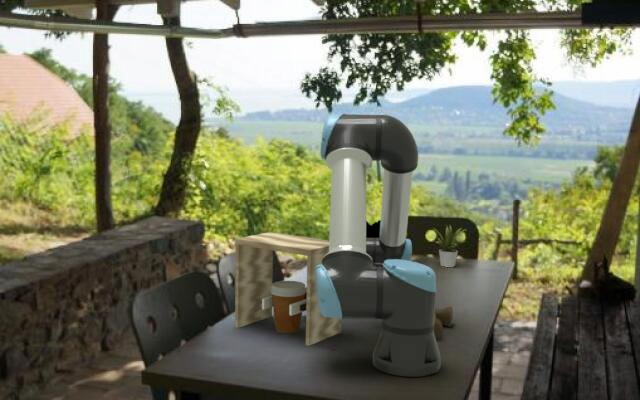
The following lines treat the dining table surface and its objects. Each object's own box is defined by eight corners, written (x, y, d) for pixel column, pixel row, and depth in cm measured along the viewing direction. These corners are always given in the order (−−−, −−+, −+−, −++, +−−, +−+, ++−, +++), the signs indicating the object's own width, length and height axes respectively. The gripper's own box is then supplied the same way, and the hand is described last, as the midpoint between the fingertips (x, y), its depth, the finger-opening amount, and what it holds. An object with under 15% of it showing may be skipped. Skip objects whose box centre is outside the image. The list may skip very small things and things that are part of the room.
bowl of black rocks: (333, 269, 254) (334, 218, 252) (347, 259, 273) (348, 212, 271) (386, 274, 248) (388, 222, 246) (397, 263, 267) (398, 215, 265)
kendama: (412, 340, 175) (417, 317, 194) (451, 344, 173) (452, 320, 192) (413, 318, 174) (418, 296, 193) (452, 321, 172) (453, 299, 191)
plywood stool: (269, 315, 192) (270, 232, 190) (341, 332, 179) (343, 242, 176) (235, 327, 181) (235, 238, 178) (309, 345, 167) (310, 250, 165)
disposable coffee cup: (273, 336, 174) (274, 289, 173) (266, 325, 183) (266, 281, 182) (310, 334, 177) (310, 288, 175) (301, 323, 186) (301, 279, 184)
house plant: (477, 269, 258) (479, 226, 256) (445, 272, 253) (447, 228, 251) (456, 262, 271) (457, 221, 270) (425, 264, 266) (426, 222, 264)
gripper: (359, 309, 188) (309, 329, 170) (297, 297, 200) (245, 314, 182) (359, 282, 187) (310, 299, 169) (298, 271, 199) (245, 286, 181)
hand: (276, 307), depth 175 cm, fingers closed on disposable coffee cup, 8 cm apart
